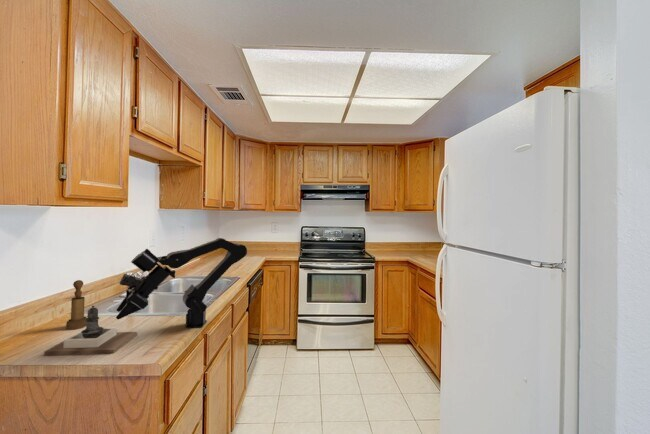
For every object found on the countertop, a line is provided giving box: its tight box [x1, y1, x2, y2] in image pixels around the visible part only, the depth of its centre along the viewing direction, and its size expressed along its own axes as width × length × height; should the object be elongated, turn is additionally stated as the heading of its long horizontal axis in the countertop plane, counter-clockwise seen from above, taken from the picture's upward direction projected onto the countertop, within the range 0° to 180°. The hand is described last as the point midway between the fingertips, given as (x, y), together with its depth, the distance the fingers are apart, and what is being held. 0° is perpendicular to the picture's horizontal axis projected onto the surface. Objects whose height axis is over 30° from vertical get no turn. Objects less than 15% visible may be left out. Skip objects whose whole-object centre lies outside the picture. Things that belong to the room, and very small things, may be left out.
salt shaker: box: [81, 305, 104, 339], centre depth 97 cm, size 6×6×12 cm
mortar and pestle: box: [65, 279, 87, 330], centre depth 112 cm, size 7×6×18 cm
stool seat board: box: [43, 327, 138, 356], centre depth 97 cm, size 20×14×4 cm
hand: (117, 314), depth 101 cm, fingers open, 9 cm apart
